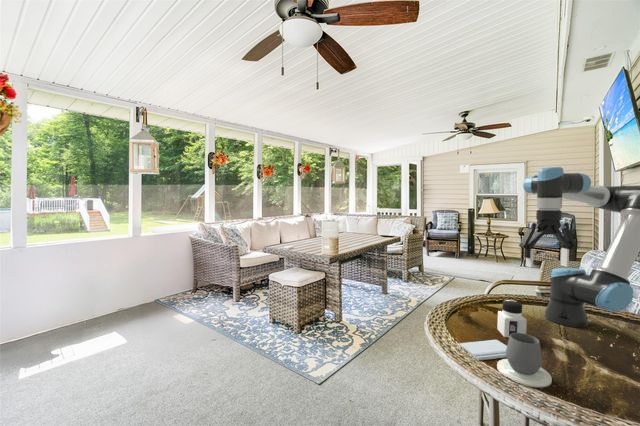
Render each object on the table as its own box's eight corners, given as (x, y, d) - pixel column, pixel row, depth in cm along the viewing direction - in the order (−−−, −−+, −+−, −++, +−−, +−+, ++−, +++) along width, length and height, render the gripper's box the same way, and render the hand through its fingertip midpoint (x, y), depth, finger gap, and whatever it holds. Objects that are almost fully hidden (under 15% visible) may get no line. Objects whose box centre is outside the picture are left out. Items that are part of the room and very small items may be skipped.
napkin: (496, 342, 116) (496, 338, 115) (518, 355, 106) (518, 352, 106) (458, 346, 112) (458, 342, 112) (477, 360, 103) (477, 356, 102)
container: (526, 339, 118) (527, 305, 117) (504, 337, 120) (505, 304, 119) (517, 330, 126) (519, 299, 125) (496, 329, 127) (498, 297, 126)
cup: (529, 381, 89) (530, 348, 88) (498, 365, 97) (499, 334, 97) (548, 374, 93) (550, 341, 92) (517, 359, 101) (519, 329, 101)
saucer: (529, 361, 102) (529, 357, 102) (564, 387, 88) (564, 383, 88) (487, 361, 102) (487, 358, 102) (515, 387, 88) (516, 384, 88)
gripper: (572, 208, 119) (570, 263, 120) (509, 209, 118) (507, 264, 119) (590, 209, 111) (588, 268, 113) (523, 210, 110) (521, 269, 112)
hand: (546, 266), depth 116 cm, fingers open, 13 cm apart
